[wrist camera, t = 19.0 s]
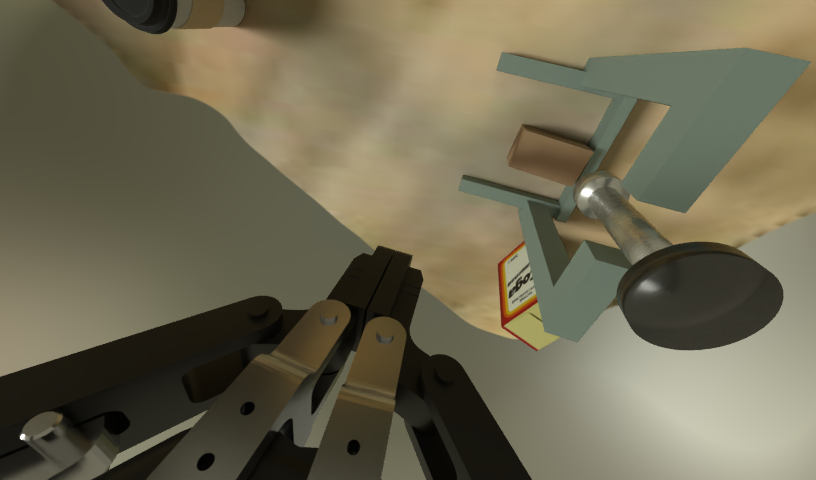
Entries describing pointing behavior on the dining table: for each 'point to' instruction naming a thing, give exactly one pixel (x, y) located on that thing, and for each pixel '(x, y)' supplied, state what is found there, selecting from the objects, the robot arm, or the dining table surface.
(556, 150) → the block
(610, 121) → the frame
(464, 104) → the dining table surface
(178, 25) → the coffee cup
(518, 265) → the baking soda box
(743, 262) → the ram
